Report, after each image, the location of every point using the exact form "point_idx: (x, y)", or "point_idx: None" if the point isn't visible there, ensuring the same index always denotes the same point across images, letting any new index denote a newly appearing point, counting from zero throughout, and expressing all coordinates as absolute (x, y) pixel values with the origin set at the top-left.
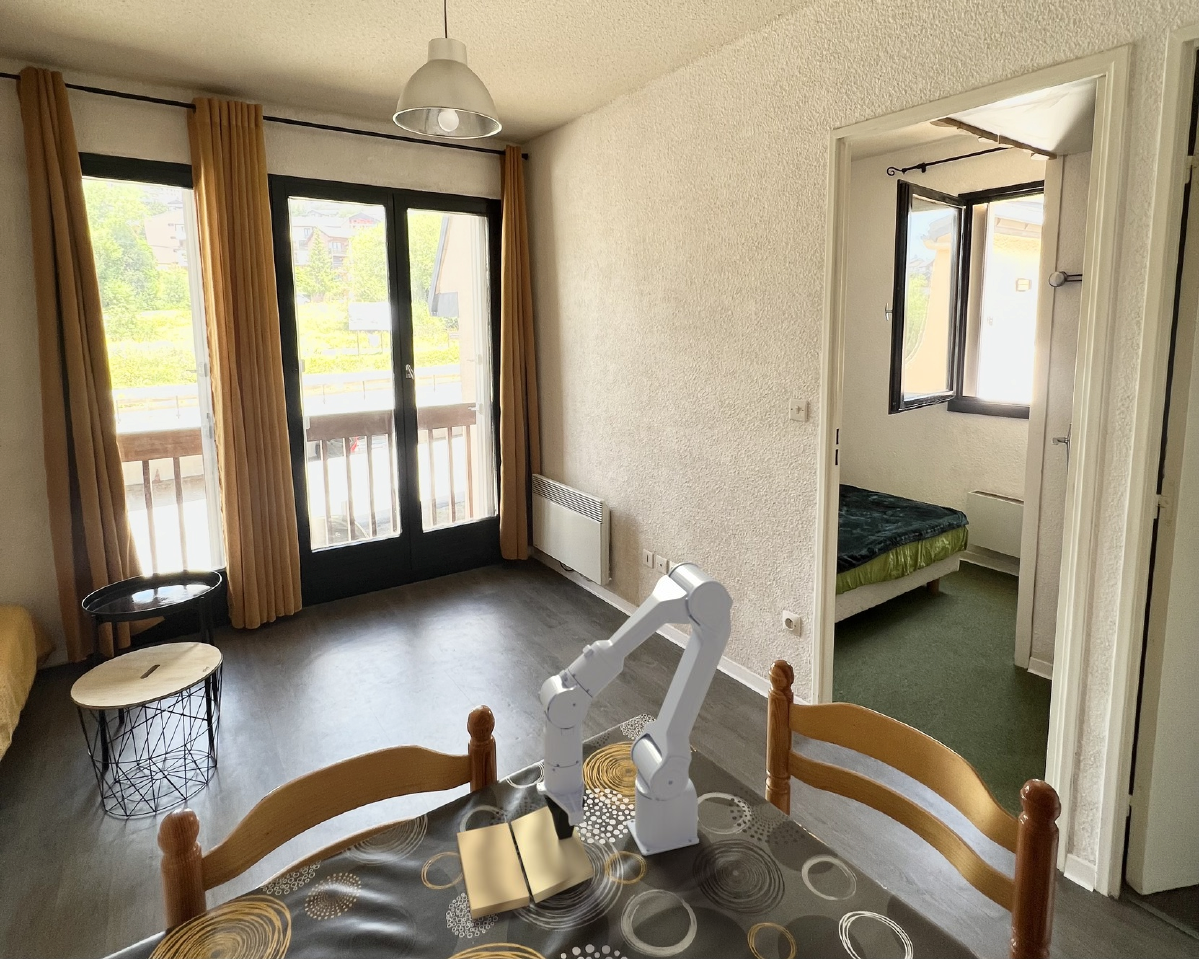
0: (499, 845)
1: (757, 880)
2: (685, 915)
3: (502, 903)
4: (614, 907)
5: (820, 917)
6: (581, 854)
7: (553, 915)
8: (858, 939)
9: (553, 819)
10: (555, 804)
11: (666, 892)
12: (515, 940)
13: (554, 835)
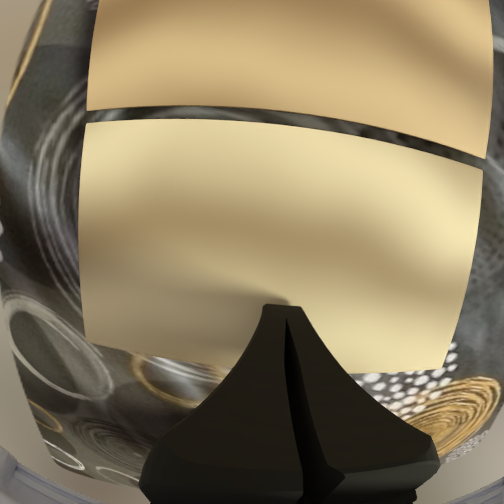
0: (396, 73)
1: (122, 457)
2: (61, 385)
3: (96, 23)
4: (72, 311)
5: (73, 452)
6: (151, 340)
7: (65, 171)
8: (54, 449)
9: (299, 356)
10: (186, 502)
11: (104, 393)
12: (32, 65)
13: (314, 293)
